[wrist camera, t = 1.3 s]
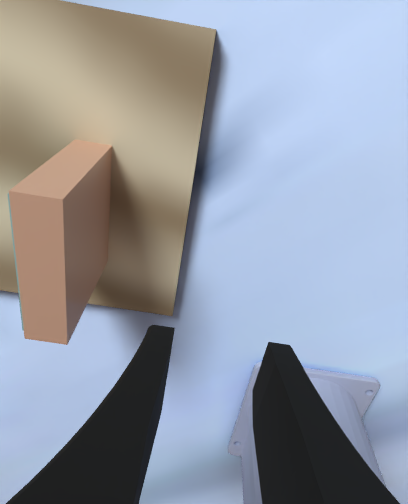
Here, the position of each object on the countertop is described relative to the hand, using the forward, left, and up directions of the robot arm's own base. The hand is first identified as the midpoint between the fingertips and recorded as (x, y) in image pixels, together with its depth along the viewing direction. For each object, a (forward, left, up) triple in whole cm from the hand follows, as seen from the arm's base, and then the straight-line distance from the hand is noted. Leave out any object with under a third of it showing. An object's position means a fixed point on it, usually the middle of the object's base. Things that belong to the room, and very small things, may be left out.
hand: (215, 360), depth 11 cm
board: (+1, +8, -9) cm, 12 cm away
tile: (0, +6, -9) cm, 10 cm away
